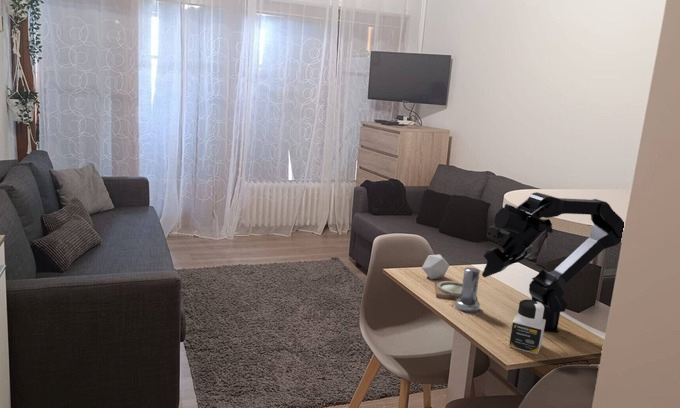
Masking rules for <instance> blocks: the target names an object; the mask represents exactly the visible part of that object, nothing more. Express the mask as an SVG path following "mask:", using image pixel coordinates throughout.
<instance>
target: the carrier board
mask: <svg viewBox="0 0 680 408" xmlns="http://www.w3.org/2000/svg"><path fill="white" fill-rule="evenodd" d="M462 285H463V282H460V281H454V280H444V281H434V288H435V297H436V298H439V299H447V300H454V301H456V299H459V298H461V292H462Z"/></svg>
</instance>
